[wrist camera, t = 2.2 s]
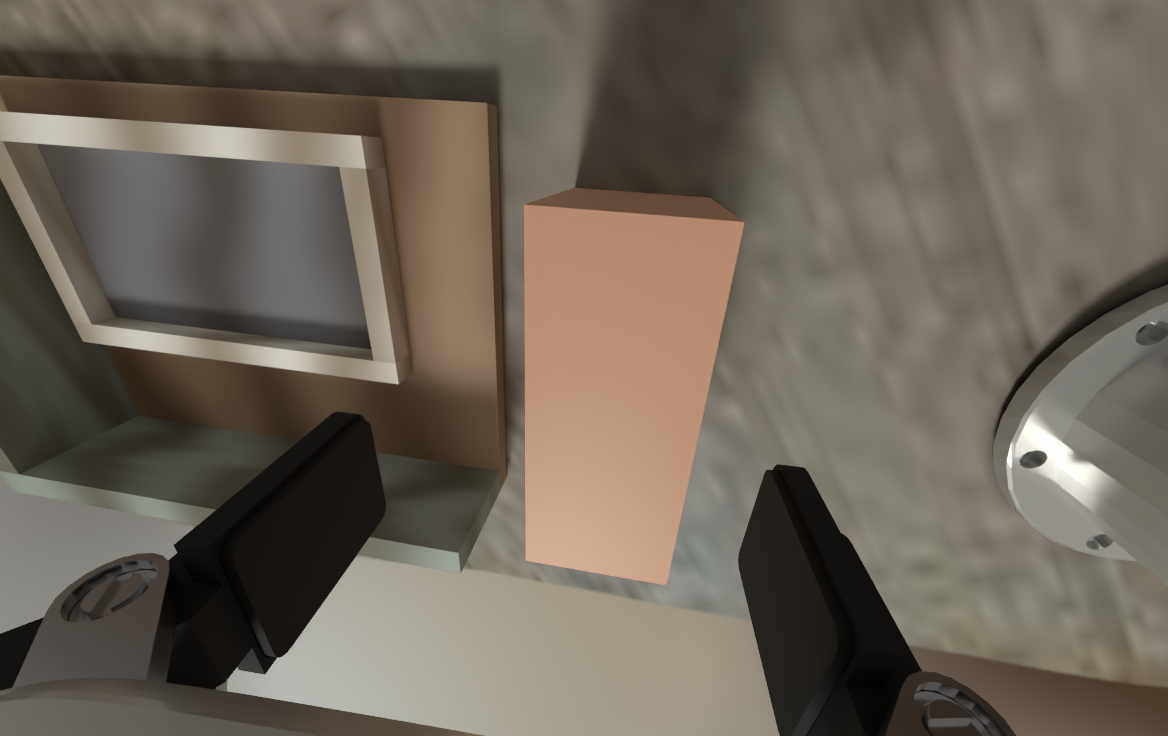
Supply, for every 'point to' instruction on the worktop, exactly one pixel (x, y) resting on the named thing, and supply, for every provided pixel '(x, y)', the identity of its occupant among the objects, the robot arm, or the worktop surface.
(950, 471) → the worktop surface
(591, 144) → the worktop surface
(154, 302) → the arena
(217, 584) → the robot arm
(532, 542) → the block
